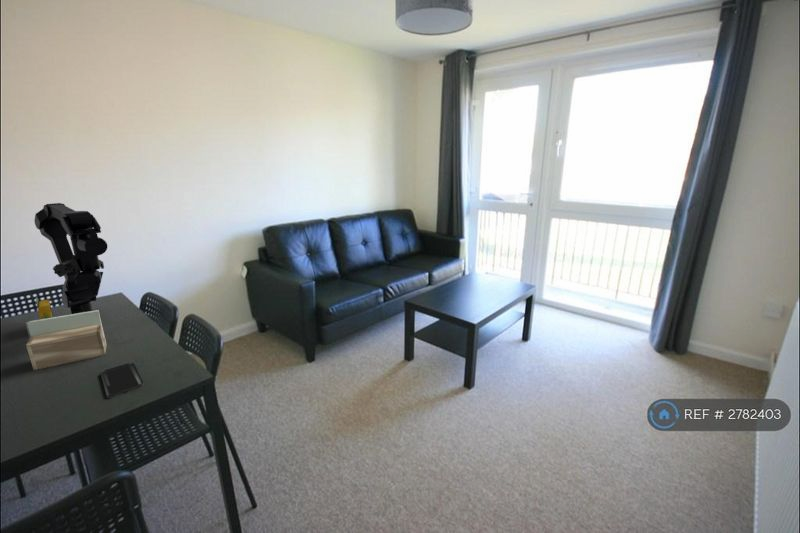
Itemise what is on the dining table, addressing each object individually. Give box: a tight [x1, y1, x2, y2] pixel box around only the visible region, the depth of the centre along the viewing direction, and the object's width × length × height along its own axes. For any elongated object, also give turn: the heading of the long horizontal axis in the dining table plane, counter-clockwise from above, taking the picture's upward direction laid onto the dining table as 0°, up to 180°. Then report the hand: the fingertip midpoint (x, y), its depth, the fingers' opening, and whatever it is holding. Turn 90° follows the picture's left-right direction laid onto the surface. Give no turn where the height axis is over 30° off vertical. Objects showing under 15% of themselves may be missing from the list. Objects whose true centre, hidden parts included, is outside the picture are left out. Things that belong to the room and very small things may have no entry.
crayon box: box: [35, 296, 54, 320], centre depth 126 cm, size 7×3×12 cm, turn 42°
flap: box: [24, 309, 107, 343], centre depth 111 cm, size 1×16×12 cm, turn 124°
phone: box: [100, 362, 144, 399], centre depth 100 cm, size 8×1×15 cm
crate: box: [25, 324, 107, 371], centre depth 109 cm, size 6×16×8 cm, turn 125°
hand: (95, 295), depth 124 cm, fingers closed
